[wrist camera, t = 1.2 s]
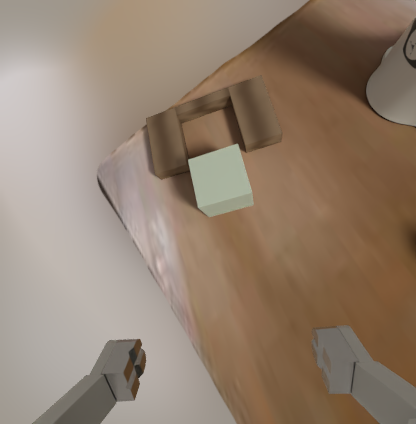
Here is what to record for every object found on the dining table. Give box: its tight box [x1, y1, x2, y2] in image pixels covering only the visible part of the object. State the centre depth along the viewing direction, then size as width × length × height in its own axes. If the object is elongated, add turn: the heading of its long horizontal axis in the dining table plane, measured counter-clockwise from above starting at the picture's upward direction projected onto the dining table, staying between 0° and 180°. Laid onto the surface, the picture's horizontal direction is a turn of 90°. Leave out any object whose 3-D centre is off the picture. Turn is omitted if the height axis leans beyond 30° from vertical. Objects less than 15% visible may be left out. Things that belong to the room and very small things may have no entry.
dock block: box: [146, 75, 282, 180], centre depth 45 cm, size 26×14×3 cm, turn 103°
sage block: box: [188, 144, 254, 217], centre depth 40 cm, size 9×9×8 cm
